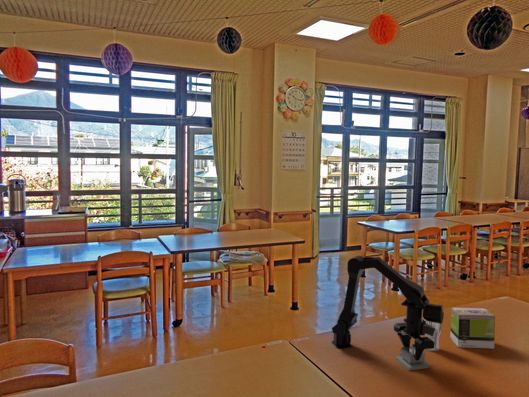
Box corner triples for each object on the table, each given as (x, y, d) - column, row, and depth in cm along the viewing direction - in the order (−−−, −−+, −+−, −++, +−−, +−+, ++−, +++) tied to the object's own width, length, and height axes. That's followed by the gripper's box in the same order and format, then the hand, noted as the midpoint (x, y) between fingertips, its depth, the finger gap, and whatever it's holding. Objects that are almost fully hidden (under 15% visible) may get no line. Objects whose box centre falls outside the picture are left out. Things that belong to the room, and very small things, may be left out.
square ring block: (409, 363, 158) (410, 354, 157) (400, 355, 164) (400, 347, 164) (424, 361, 159) (424, 353, 159) (414, 354, 165) (414, 345, 165)
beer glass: (421, 349, 174) (423, 315, 172) (423, 343, 180) (425, 310, 179) (439, 353, 171) (441, 318, 169) (441, 346, 177) (442, 312, 175)
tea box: (484, 339, 184) (486, 307, 183) (494, 349, 174) (496, 315, 173) (449, 338, 186) (450, 306, 185) (457, 347, 176) (459, 314, 175)
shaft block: (408, 370, 156) (409, 355, 156) (395, 359, 165) (396, 345, 164) (429, 367, 158) (430, 352, 158) (415, 357, 167) (416, 342, 167)
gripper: (448, 325, 153) (445, 365, 154) (417, 307, 171) (416, 344, 172) (421, 327, 150) (419, 368, 152) (393, 310, 168) (392, 346, 170)
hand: (412, 356), depth 161 cm, fingers closed on square ring block, 6 cm apart
